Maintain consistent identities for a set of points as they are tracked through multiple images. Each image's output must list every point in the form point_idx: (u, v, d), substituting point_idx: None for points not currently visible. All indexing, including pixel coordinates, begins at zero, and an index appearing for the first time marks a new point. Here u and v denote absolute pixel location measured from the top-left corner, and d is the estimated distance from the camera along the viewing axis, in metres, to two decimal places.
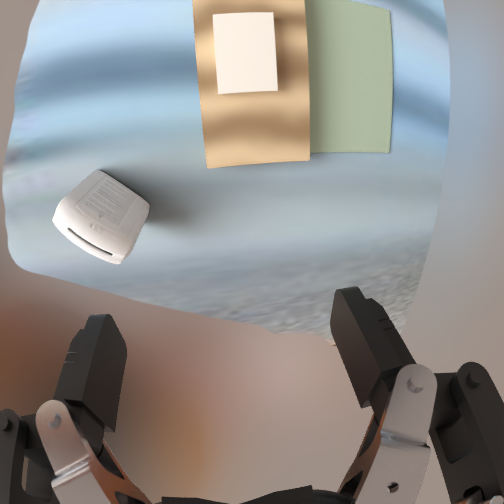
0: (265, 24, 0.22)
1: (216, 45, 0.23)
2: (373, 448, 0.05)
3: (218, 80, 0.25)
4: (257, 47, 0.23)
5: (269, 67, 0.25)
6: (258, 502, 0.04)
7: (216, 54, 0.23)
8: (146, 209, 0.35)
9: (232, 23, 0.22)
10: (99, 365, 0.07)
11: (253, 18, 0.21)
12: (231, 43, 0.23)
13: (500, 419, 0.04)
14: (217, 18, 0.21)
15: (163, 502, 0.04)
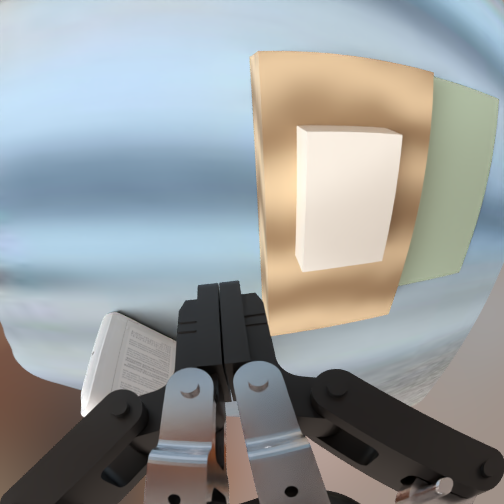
0: (388, 158, 0.15)
1: (308, 195, 0.16)
2: None
3: (305, 253, 0.18)
4: (370, 199, 0.16)
5: (379, 230, 0.18)
6: (258, 502, 0.04)
7: (307, 212, 0.16)
8: None
9: (339, 153, 0.15)
10: (221, 330, 0.09)
11: (373, 145, 0.14)
12: (333, 192, 0.16)
13: (393, 413, 0.05)
14: (314, 141, 0.14)
15: None
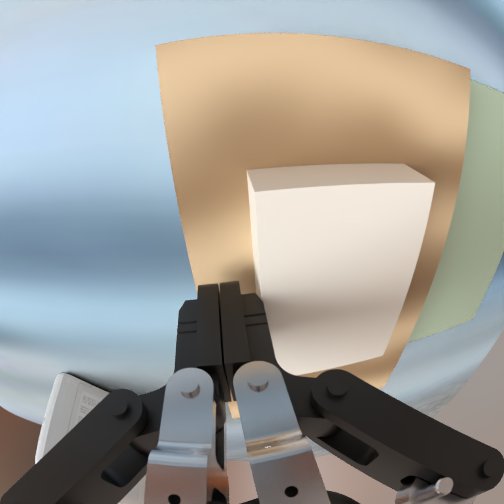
0: (408, 223, 0.09)
1: (266, 296, 0.10)
2: None
3: None
4: (372, 289, 0.10)
5: (383, 325, 0.11)
6: (258, 502, 0.04)
7: None
8: None
9: (320, 226, 0.08)
10: (221, 330, 0.09)
11: (384, 206, 0.08)
12: (309, 287, 0.10)
13: (393, 413, 0.05)
14: (272, 208, 0.08)
15: None
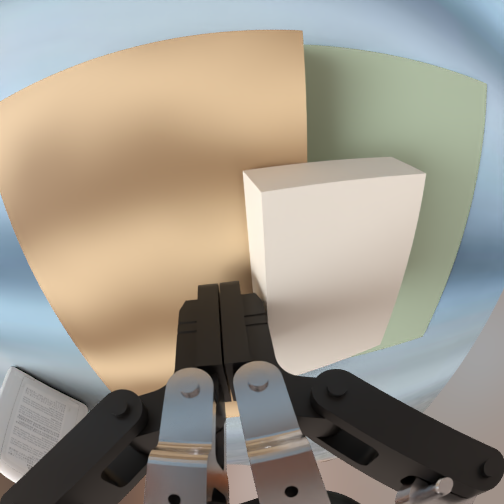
0: (403, 214, 0.09)
1: (271, 298, 0.09)
2: None
3: None
4: (371, 280, 0.10)
5: (380, 314, 0.12)
6: (258, 502, 0.04)
7: (270, 319, 0.10)
8: (81, 419, 0.22)
9: (324, 223, 0.08)
10: (221, 330, 0.09)
11: (382, 198, 0.08)
12: (313, 285, 0.10)
13: (393, 413, 0.05)
14: (278, 208, 0.08)
15: None
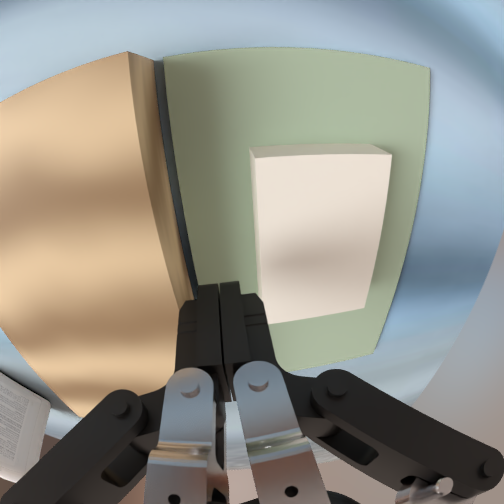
0: None
1: None
2: None
3: None
4: None
5: None
6: (258, 502, 0.04)
7: None
8: (43, 414, 0.21)
9: None
10: (221, 330, 0.09)
11: None
12: None
13: (394, 413, 0.05)
14: None
15: None
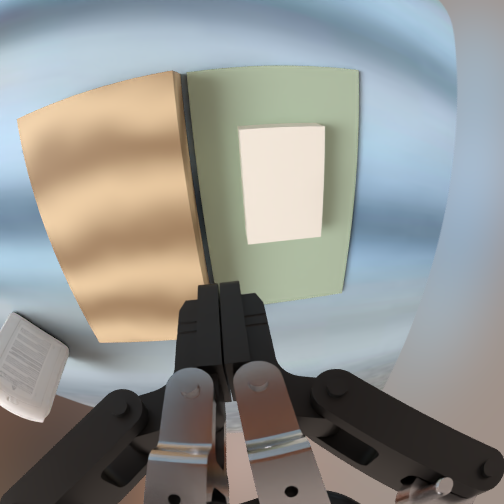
0: None
1: None
2: None
3: None
4: None
5: None
6: (258, 502, 0.04)
7: None
8: (62, 356, 0.29)
9: None
10: (221, 331, 0.09)
11: None
12: None
13: (393, 413, 0.05)
14: None
15: None
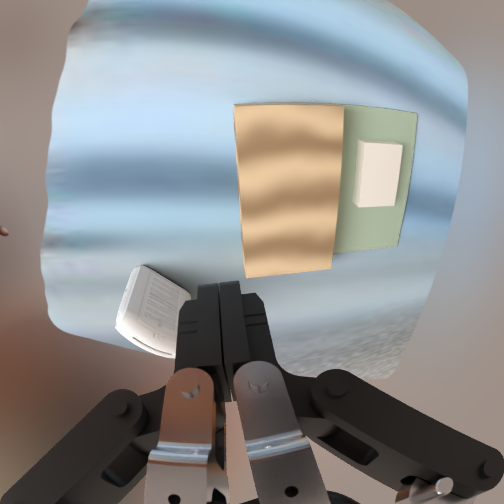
0: None
1: None
2: None
3: None
4: None
5: None
6: (258, 502, 0.04)
7: None
8: None
9: None
10: (221, 330, 0.09)
11: None
12: None
13: (393, 413, 0.05)
14: None
15: None
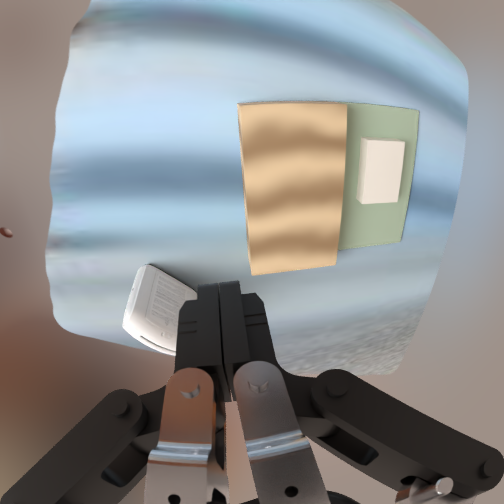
0: None
1: None
2: None
3: None
4: None
5: None
6: (258, 502, 0.04)
7: None
8: (195, 299, 0.43)
9: None
10: (221, 331, 0.09)
11: None
12: None
13: (393, 413, 0.05)
14: None
15: None
